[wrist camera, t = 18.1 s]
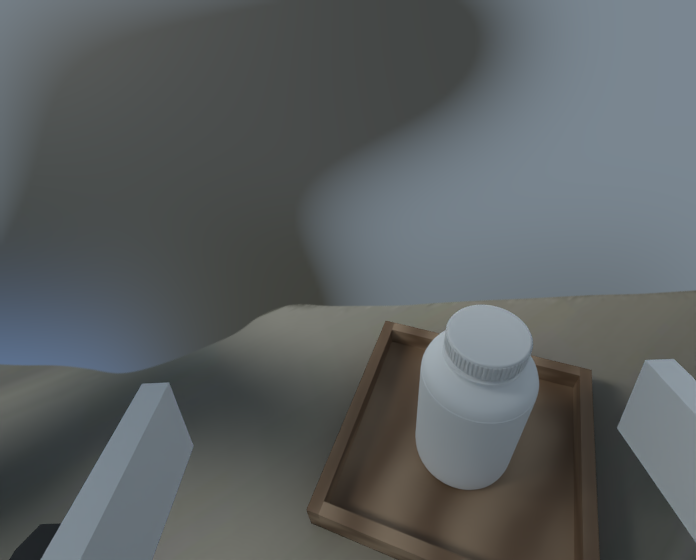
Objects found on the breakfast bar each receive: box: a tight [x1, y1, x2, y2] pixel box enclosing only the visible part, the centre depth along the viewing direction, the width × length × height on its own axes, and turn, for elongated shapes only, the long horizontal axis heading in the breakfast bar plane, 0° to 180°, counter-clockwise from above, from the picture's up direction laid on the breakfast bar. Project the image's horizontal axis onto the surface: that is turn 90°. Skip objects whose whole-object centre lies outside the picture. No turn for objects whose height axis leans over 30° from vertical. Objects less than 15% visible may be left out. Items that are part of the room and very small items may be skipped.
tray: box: [307, 321, 600, 560], centre depth 36 cm, size 20×20×3 cm
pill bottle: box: [415, 305, 539, 490], centre depth 31 cm, size 8×8×15 cm
